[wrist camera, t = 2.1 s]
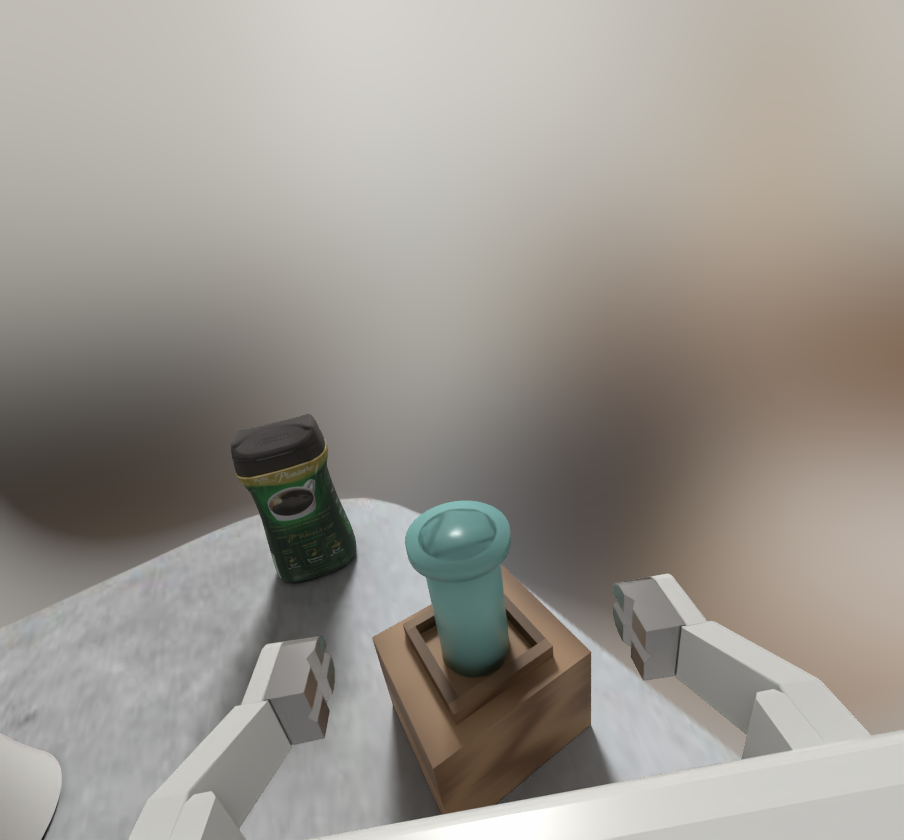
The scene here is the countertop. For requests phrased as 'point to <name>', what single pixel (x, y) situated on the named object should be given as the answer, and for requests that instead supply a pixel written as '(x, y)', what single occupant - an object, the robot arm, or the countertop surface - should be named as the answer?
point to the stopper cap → (465, 581)
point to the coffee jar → (295, 497)
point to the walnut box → (487, 701)
